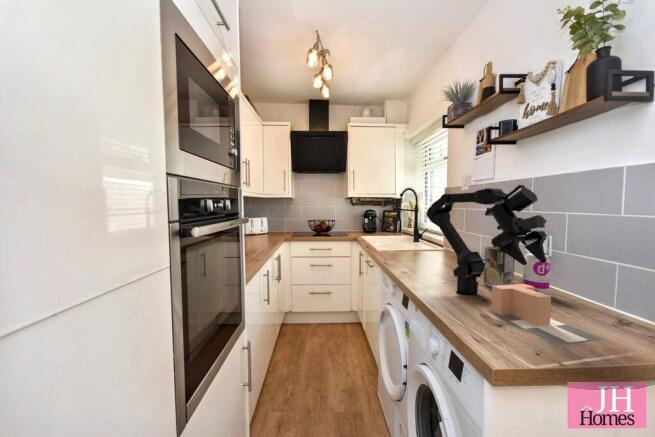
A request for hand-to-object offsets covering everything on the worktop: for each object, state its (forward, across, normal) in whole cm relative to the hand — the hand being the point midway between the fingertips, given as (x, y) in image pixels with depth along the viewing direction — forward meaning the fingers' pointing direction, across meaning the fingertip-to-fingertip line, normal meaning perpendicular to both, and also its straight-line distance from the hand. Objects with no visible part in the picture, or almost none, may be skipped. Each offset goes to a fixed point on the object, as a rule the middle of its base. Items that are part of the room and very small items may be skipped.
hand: (535, 263), depth 82 cm
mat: (+16, -5, +6) cm, 17 cm away
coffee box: (-1, +19, +29) cm, 35 cm away
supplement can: (+5, +24, +20) cm, 32 cm away
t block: (+13, -4, +9) cm, 16 cm away
